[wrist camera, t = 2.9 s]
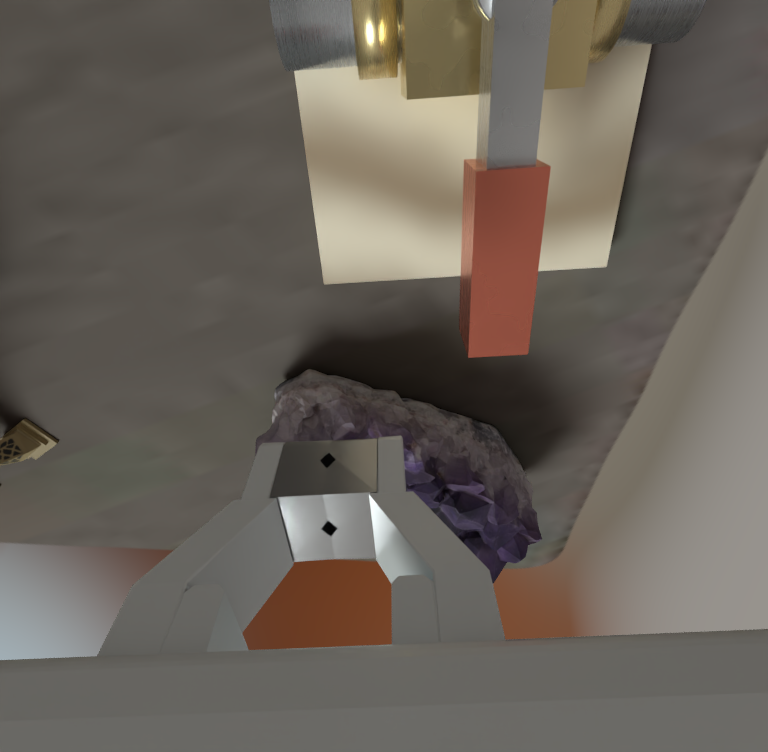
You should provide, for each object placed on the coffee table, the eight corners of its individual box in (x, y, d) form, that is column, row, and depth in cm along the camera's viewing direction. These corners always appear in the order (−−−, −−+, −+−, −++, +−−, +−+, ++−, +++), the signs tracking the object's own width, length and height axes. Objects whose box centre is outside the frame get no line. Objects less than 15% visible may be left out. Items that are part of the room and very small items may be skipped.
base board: (230, -442, 15) (215, -490, 14) (739, -497, 14) (773, -552, 13) (326, 275, 28) (324, 284, 27) (596, 258, 27) (606, 267, 26)
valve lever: (464, -68, 14) (483, -100, 12) (549, -74, 14) (588, -110, 11) (455, 323, 21) (465, 357, 19) (511, 319, 21) (530, 354, 19)
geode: (561, 405, 34) (614, 530, 26) (491, 495, 41) (516, 614, 33) (281, 338, 30) (246, 464, 22) (257, 451, 37) (225, 575, 29)
